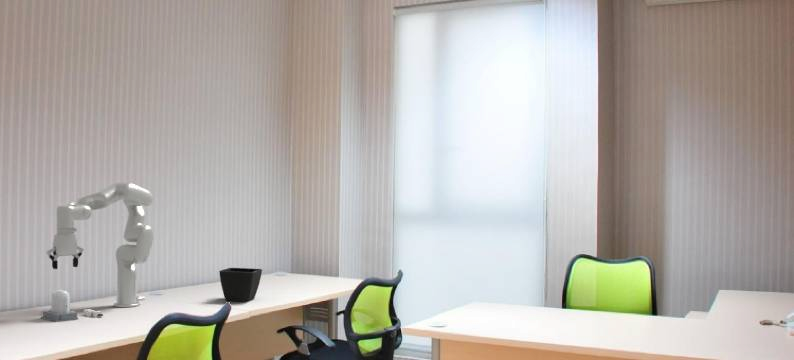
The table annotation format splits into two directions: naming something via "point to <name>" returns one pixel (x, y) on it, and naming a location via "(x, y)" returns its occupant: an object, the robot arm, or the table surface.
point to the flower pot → (240, 283)
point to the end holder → (59, 316)
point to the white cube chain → (93, 313)
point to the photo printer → (60, 302)
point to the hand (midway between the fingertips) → (65, 267)
